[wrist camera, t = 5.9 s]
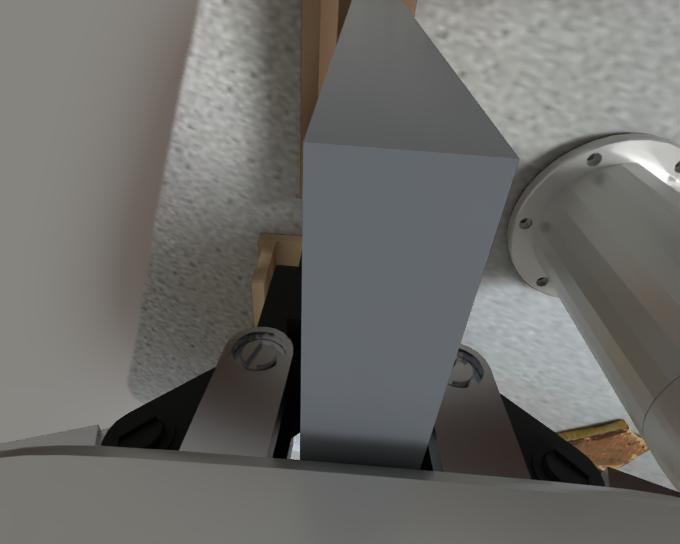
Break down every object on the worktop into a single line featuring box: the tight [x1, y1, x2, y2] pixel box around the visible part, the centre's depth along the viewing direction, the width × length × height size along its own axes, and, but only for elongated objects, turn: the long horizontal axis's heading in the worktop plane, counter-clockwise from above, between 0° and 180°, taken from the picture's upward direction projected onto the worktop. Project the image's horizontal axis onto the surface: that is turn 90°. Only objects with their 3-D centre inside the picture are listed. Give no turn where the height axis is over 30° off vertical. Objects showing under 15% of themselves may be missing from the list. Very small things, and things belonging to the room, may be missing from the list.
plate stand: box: [300, 0, 417, 198], centre depth 25 cm, size 6×13×4 cm, turn 176°
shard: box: [558, 420, 649, 471], centre depth 45 cm, size 11×8×2 cm
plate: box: [300, 0, 519, 470], centre depth 11 cm, size 1×12×12 cm, turn 177°
